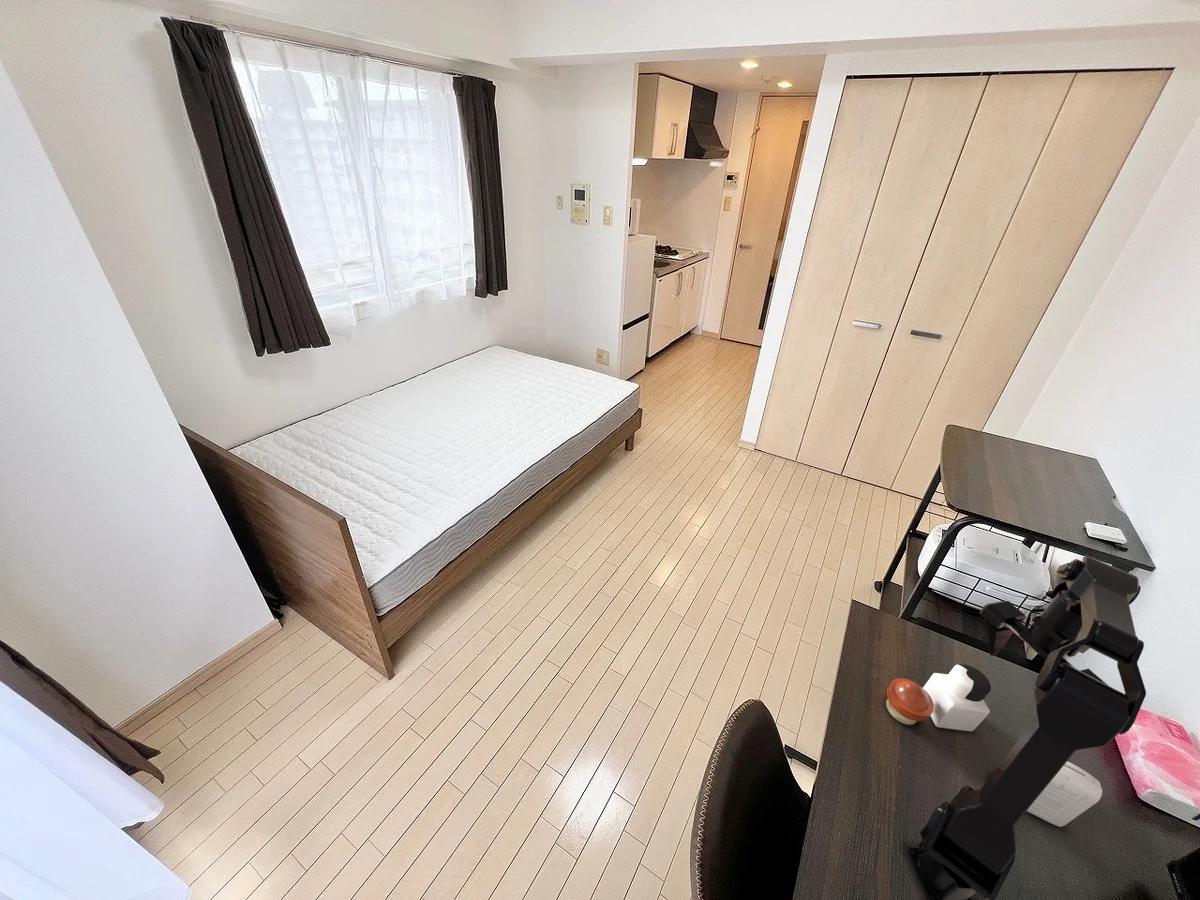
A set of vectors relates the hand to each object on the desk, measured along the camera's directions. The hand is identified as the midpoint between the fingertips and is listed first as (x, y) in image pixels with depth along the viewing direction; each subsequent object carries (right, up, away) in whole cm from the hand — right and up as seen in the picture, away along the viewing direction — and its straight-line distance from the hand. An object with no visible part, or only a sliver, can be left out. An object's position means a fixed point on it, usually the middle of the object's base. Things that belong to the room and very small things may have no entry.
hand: (1015, 676), depth 89 cm
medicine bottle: (-8, -11, +7) cm, 15 cm away
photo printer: (-3, -19, -6) cm, 20 cm away
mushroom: (-17, -10, +7) cm, 21 cm away
